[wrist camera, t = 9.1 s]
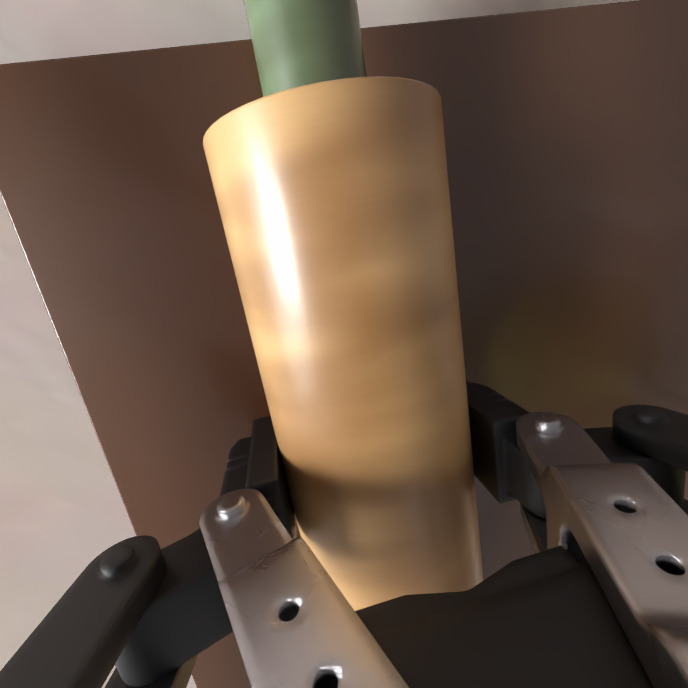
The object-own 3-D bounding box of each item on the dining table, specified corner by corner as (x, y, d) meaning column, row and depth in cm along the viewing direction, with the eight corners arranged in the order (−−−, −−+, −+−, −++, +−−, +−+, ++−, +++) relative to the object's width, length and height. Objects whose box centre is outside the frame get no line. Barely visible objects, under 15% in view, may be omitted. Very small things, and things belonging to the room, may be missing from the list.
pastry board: (210, 678, 16) (205, 711, 14) (-13, 89, 10) (-51, 68, 9) (687, 521, 19) (714, 539, 18) (738, 8, 13) (784, -16, 12)
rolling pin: (353, 718, 16) (386, 917, 11) (151, -113, 8) (-9, -593, 4) (459, 679, 17) (535, 852, 12) (363, -122, 9) (462, -538, 4)
